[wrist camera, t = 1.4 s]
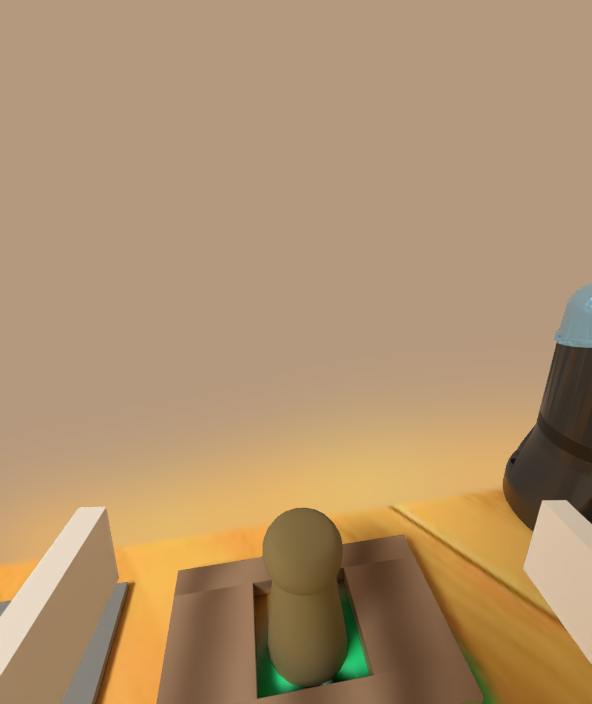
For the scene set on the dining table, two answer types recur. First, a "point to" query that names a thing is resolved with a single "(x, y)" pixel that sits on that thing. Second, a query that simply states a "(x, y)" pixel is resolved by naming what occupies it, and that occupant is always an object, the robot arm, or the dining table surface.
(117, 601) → the gray mat
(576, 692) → the dining table surface
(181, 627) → the walnut holder
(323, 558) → the brown tall rounded piece
